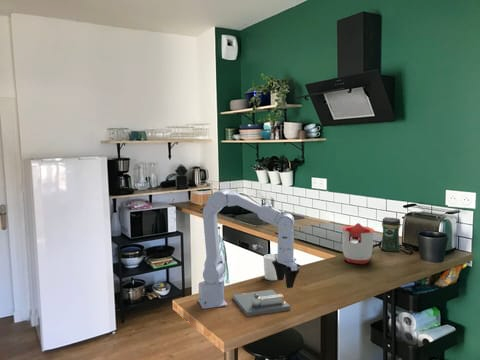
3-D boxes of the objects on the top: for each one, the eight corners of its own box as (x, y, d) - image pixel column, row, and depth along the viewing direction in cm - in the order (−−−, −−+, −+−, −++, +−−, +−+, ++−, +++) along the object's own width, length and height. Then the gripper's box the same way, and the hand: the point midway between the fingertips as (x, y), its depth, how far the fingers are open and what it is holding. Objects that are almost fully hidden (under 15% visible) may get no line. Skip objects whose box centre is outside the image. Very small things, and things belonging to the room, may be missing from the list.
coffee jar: (400, 249, 223) (402, 217, 221) (397, 253, 217) (398, 220, 215) (383, 246, 229) (384, 215, 227) (379, 250, 222) (380, 218, 220)
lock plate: (247, 316, 139) (247, 300, 138) (232, 298, 154) (232, 283, 154) (290, 309, 145) (290, 293, 144) (272, 293, 160) (272, 278, 159)
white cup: (259, 277, 177) (260, 256, 176) (271, 273, 183) (271, 252, 182) (273, 282, 172) (273, 260, 171) (284, 278, 177) (284, 256, 176)
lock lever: (253, 308, 141) (253, 299, 141) (250, 304, 145) (250, 296, 144) (284, 303, 145) (284, 295, 145) (280, 300, 149) (280, 292, 148)
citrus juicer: (337, 263, 198) (338, 225, 196) (345, 254, 213) (346, 218, 211) (369, 268, 190) (370, 228, 188) (375, 259, 206) (376, 221, 204)
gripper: (305, 251, 135) (304, 289, 137) (286, 241, 149) (286, 275, 150) (286, 253, 133) (286, 292, 135) (269, 242, 147) (269, 277, 148)
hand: (285, 283), depth 142 cm, fingers open, 7 cm apart
